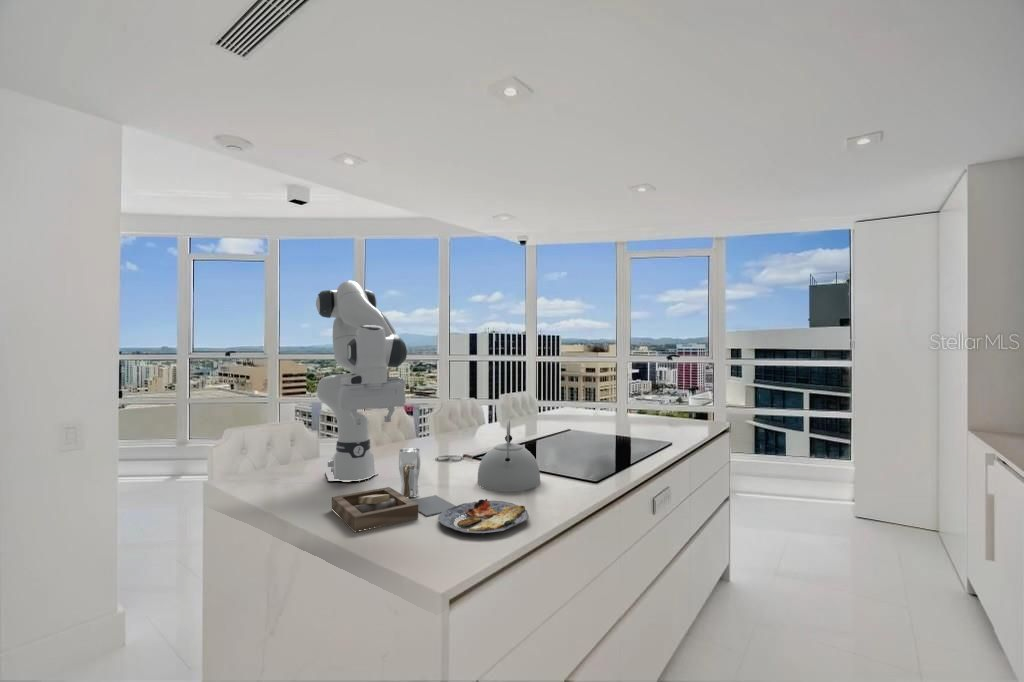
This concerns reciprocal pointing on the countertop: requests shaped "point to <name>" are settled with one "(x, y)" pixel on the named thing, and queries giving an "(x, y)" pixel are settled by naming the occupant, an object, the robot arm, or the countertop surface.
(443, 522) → the food plate
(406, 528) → the countertop surface
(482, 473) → the kettle
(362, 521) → the pocket board
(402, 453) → the drinking glass
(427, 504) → the rubber mat
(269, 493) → the countertop surface
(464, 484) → the countertop surface
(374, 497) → the maple bar
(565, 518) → the countertop surface
